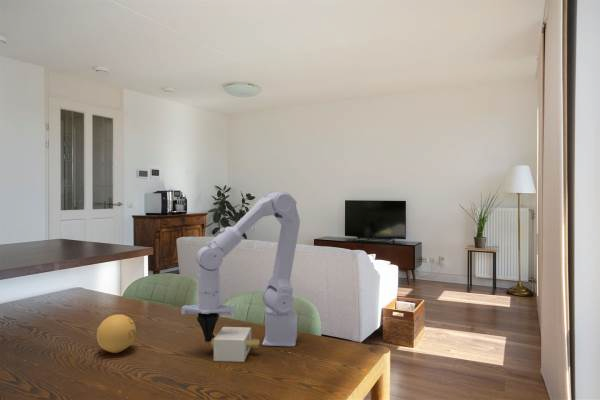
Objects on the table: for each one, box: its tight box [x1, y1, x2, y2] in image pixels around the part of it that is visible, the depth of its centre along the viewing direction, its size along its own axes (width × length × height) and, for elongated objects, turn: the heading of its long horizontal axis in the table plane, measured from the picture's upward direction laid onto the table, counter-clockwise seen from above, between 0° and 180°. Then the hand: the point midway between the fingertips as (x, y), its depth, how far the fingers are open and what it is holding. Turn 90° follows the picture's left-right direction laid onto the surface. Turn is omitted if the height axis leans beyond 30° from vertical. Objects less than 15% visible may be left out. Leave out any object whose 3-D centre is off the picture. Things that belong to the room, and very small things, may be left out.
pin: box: [210, 333, 260, 351], centre depth 110 cm, size 13×4×4 cm, turn 87°
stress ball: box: [96, 313, 137, 354], centre depth 111 cm, size 10×10×10 cm
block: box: [213, 326, 252, 363], centre depth 110 cm, size 8×10×6 cm
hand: (208, 340), depth 111 cm, fingers closed
